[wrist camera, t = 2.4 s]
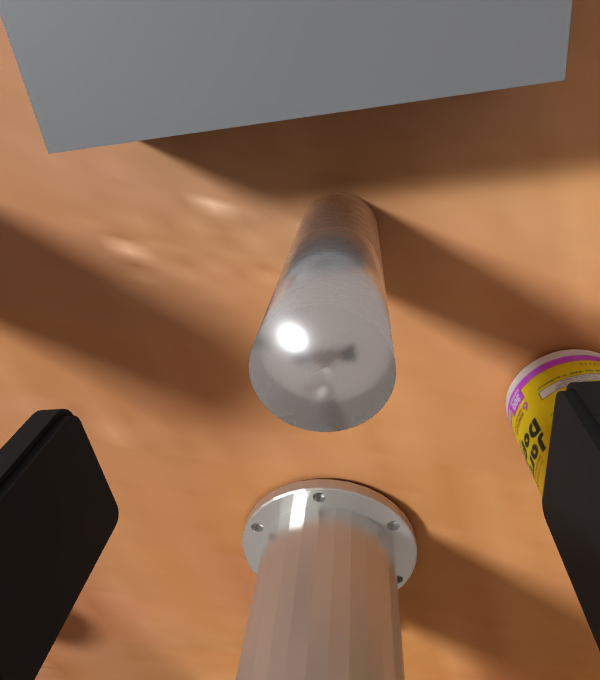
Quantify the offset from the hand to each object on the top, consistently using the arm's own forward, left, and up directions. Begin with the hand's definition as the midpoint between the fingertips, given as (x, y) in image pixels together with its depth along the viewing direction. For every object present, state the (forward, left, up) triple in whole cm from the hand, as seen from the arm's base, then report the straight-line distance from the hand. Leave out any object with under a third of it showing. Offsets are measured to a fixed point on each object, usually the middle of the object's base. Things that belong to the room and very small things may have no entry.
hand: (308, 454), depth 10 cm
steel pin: (0, 0, -18) cm, 18 cm away
